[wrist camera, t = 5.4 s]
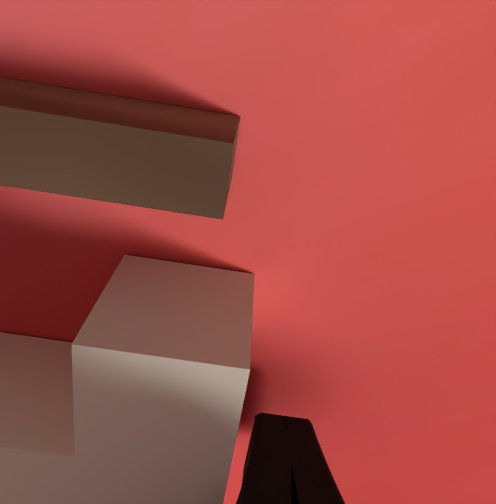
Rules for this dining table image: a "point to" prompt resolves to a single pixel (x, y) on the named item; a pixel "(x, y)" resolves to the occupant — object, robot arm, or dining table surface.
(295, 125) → the dining table surface
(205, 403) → the t block
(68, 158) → the wooden u-shaped block
